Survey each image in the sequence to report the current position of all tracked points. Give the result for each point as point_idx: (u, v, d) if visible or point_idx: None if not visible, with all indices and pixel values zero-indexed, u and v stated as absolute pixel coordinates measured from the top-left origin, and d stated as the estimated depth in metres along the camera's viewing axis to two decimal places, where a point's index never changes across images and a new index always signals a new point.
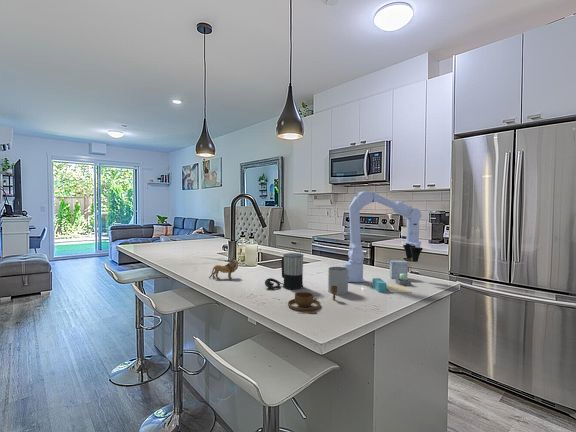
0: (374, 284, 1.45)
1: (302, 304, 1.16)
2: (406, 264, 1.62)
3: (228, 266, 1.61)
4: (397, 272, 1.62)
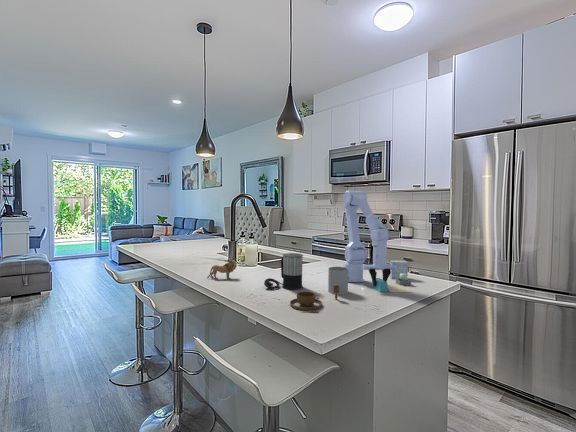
0: None
1: (304, 303, 1.17)
2: (406, 264, 1.62)
3: (226, 266, 1.61)
4: (397, 272, 1.62)
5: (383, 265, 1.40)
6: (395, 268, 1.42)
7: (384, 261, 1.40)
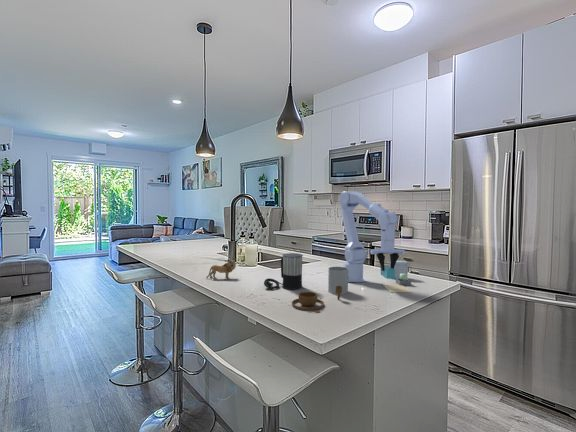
0: (382, 271, 1.43)
1: (305, 304, 1.17)
2: (406, 264, 1.62)
3: (225, 266, 1.61)
4: (397, 272, 1.62)
5: (391, 249, 1.39)
6: (403, 252, 1.41)
7: (392, 245, 1.39)
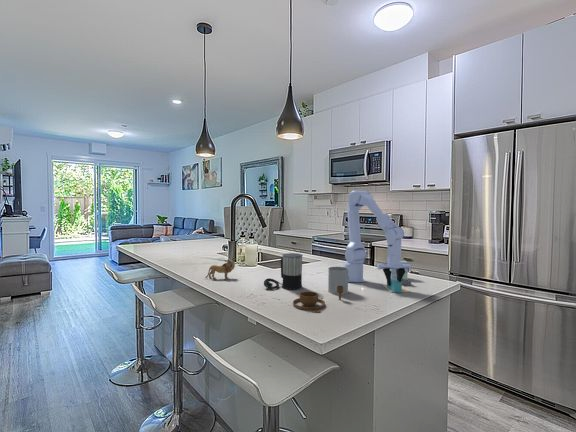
0: None
1: (306, 303, 1.18)
2: None
3: (224, 266, 1.61)
4: None
5: (398, 264, 1.39)
6: (410, 267, 1.41)
7: (399, 260, 1.39)
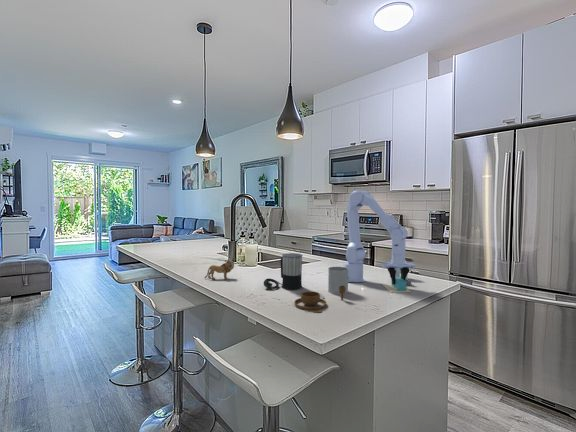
0: None
1: (308, 303, 1.18)
2: None
3: (224, 266, 1.61)
4: (397, 272, 1.62)
5: (402, 263, 1.42)
6: (414, 266, 1.44)
7: (403, 260, 1.42)
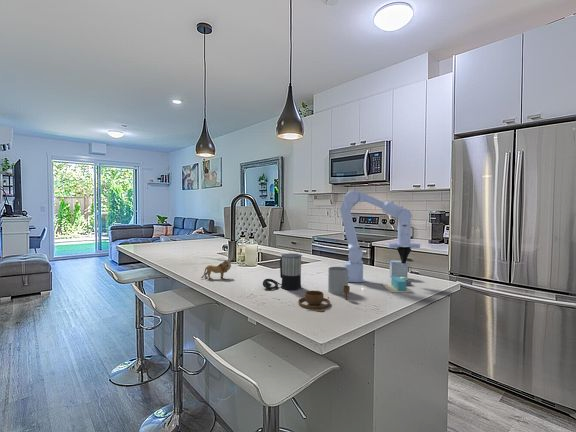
0: (393, 282, 1.46)
1: (311, 302, 1.19)
2: (406, 264, 1.62)
3: (220, 266, 1.61)
4: (397, 272, 1.62)
5: (408, 243, 1.49)
6: (419, 246, 1.51)
7: (408, 239, 1.49)
